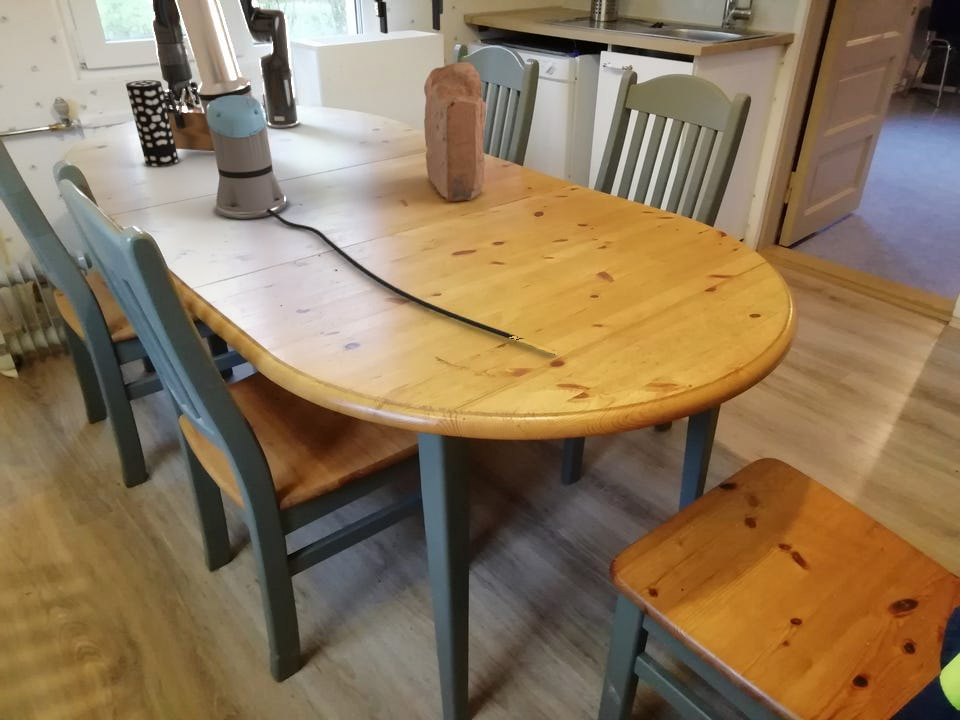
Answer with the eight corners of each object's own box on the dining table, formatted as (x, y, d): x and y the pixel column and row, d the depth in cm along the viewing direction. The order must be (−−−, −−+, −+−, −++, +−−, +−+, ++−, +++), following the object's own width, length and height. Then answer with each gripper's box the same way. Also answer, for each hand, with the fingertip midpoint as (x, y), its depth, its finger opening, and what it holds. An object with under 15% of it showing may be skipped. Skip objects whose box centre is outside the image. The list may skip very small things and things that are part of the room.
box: (261, 148, 194) (255, 110, 189) (251, 154, 189) (245, 115, 184) (187, 143, 198) (179, 106, 192) (175, 148, 193) (166, 111, 187)
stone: (494, 199, 163) (495, 72, 149) (448, 204, 160) (444, 75, 146) (466, 175, 181) (465, 60, 167) (425, 179, 178) (420, 62, 164)
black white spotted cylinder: (184, 157, 190) (167, 80, 179) (169, 166, 183) (151, 87, 172) (155, 156, 190) (136, 79, 179) (139, 165, 183) (119, 86, 172)
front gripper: (449, -74, 161) (450, 26, 172) (347, -75, 150) (355, 32, 162) (464, -74, 155) (464, 30, 167) (359, -75, 145) (367, 36, 156)
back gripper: (176, 55, 189) (189, 118, 198) (145, 64, 177) (160, 131, 186) (201, 56, 188) (213, 120, 197) (171, 66, 176) (186, 132, 185)
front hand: (410, 31), depth 164 cm, fingers open, 13 cm apart
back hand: (187, 125), depth 192 cm, fingers closed on box, 6 cm apart
